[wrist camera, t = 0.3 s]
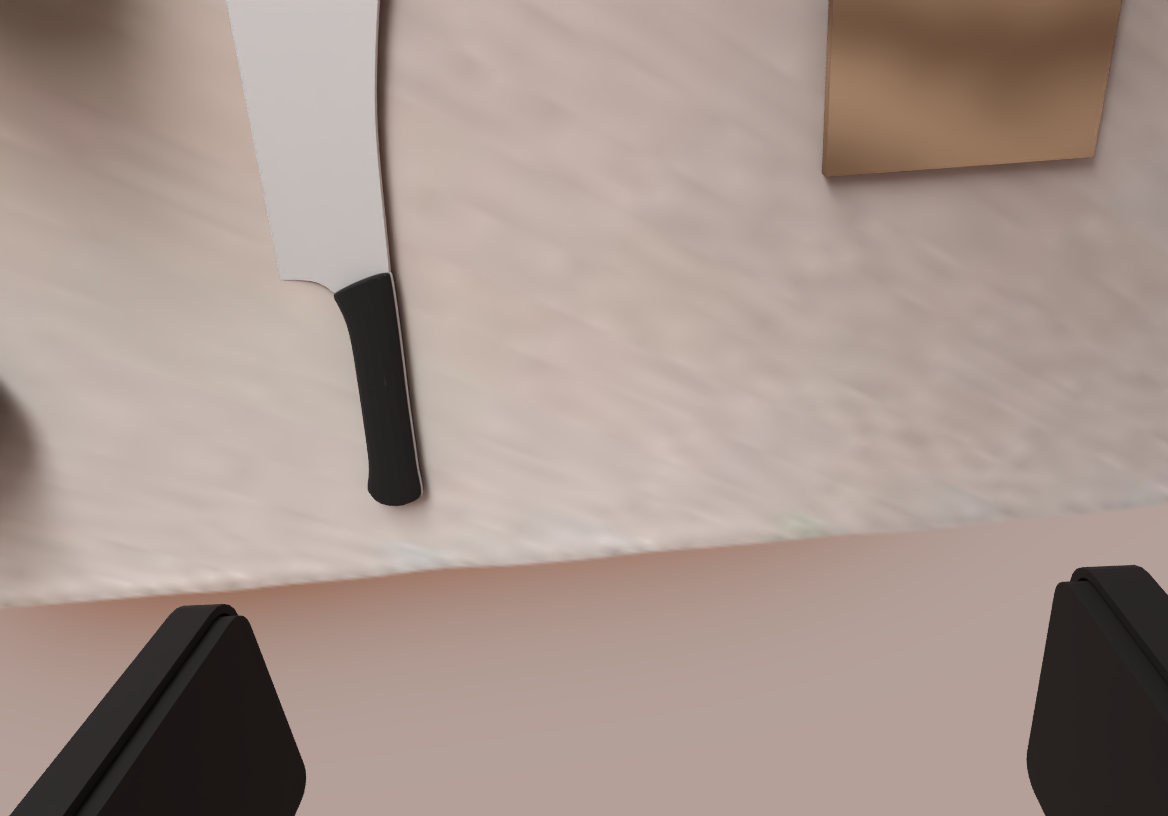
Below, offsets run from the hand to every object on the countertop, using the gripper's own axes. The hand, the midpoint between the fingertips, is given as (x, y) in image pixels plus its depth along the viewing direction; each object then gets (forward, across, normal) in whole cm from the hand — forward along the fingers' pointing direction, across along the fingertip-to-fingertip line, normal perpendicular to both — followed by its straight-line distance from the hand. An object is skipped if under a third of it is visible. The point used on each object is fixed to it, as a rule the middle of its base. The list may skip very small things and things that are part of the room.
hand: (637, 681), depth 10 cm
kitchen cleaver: (+31, +16, 0) cm, 35 cm away
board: (+31, -13, -5) cm, 34 cm away
